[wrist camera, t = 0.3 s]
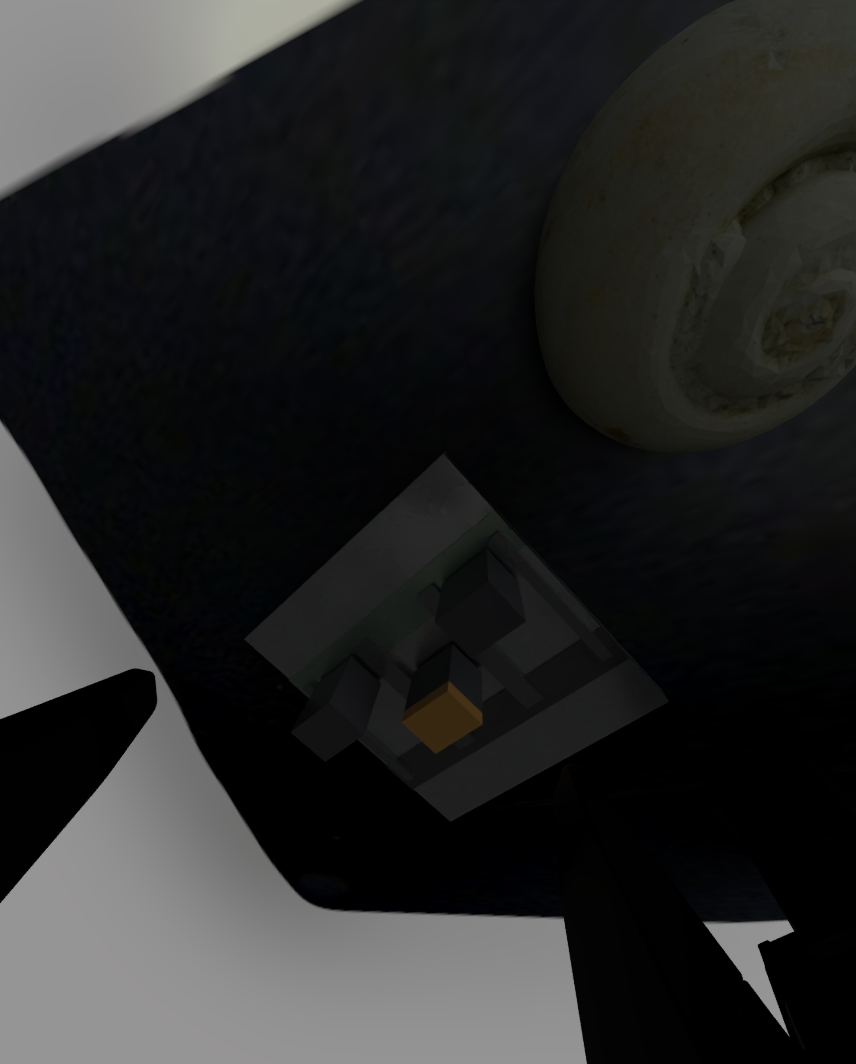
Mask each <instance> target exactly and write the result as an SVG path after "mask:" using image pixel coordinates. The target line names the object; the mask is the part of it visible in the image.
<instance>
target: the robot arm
mask: <svg viewBox="0 0 856 1064" xmlns="http://www.w3.org/2000/svg"><path fill="white" fill-rule="evenodd" d="M156 705H157V693H156V681H155V676H154V674H153V673H152V672H151V671H146V670H142V669H130V670H128V671H125V672H122V673H120V674H117V675H114V676H112V677H109V678H107V679H104V680H102V681H99V682H97V683H94V684H91V685H89V686H86V687H83V688H81V689H78V690H75V691H73V692H71V693H68V694H65V695H62V696H60V697H57V698H55V699H52V700H49V701H47V702H44V703H42V704H39V705H36V706H34V707H31V708H29V709H26V710H24V711H21V712H18V713H16V714H13V715H10V716H8V717H5V718H3V719H0V903H1V902H2V900H3V899H4V898H5V897H6V896H7V895H8V894H9V892H10V891H11V890H12V889H13V888H14V886H15V885H16V884H17V883H18V882H19V881H20V879H21V878H22V877H23V876H24V874H25V873H26V872H27V871H28V870H29V869H30V867H31V866H32V865H33V864H34V863H35V862H36V861H37V859H38V858H39V857H40V856H41V855H42V853H43V852H44V851H45V850H46V849H47V848H48V846H49V845H50V844H51V843H52V842H53V841H54V839H55V838H56V837H57V836H58V835H59V833H60V832H61V831H62V830H63V829H64V828H65V826H66V825H67V824H68V823H69V822H70V821H71V819H72V818H73V817H74V816H75V815H76V813H77V812H78V811H79V810H80V809H81V807H82V806H83V805H84V804H85V803H86V802H87V801H88V799H89V798H90V797H91V796H92V795H93V793H94V792H95V791H96V790H97V789H98V787H99V786H100V785H101V784H102V782H103V781H104V780H105V779H106V777H107V776H108V775H109V773H110V772H111V771H112V769H113V768H114V767H115V765H116V764H117V762H118V761H119V760H120V758H121V757H122V755H123V754H124V753H125V751H126V750H127V748H128V747H129V746H130V744H131V743H132V741H133V740H134V739H135V737H136V736H137V734H138V733H139V732H140V730H141V729H142V728H143V726H144V725H145V723H146V722H147V720H148V719H149V718H150V716H151V715H152V714H153V712H154V710H155V708H156ZM700 799H701V801H702V803H703V805H704V807H705V808H706V809H707V810H708V811H709V812H710V813H711V814H712V815H713V816H714V817H715V819H716V820H717V821H718V822H719V823H720V824H721V825H722V826H723V827H724V828H725V829H726V830H727V831H728V832H729V833H730V834H731V835H732V836H733V837H734V839H735V840H736V841H737V842H738V843H739V844H740V845H741V846H742V847H743V848H744V849H745V850H746V851H747V852H748V853H749V855H750V857H751V858H752V860H753V862H754V863H755V865H756V867H757V869H758V870H759V872H760V874H761V875H762V877H763V879H764V881H765V882H766V884H767V886H768V887H769V889H770V891H771V892H772V894H773V896H774V898H775V899H776V901H777V903H778V904H779V906H780V908H781V910H782V911H783V913H784V915H785V916H786V918H787V920H788V921H789V923H790V925H791V926H792V928H793V930H794V932H792V933H789V934H787V935H785V936H783V937H780V938H778V939H776V940H773V941H771V942H770V941H768V940H767V941H764V942H762V943H760V944H758V948H759V950H760V953H761V956H762V959H763V962H764V965H765V970H766V973H767V975H768V978H769V981H770V984H771V987H772V989H773V992H774V995H775V998H776V1000H777V1003H778V1006H779V1008H780V1012H781V1014H782V1017H783V1020H784V1023H785V1025H786V1028H787V1031H788V1034H789V1036H788V1034H787V1033H786V1032H785V1031H784V1029H783V1028H782V1027H781V1025H780V1024H779V1023H778V1021H777V1020H776V1019H775V1018H774V1017H773V1015H772V1014H771V1012H770V1011H769V1010H768V1008H767V1007H766V1006H765V1004H764V1003H763V1002H762V1000H761V999H760V998H759V996H758V995H757V994H756V992H755V991H754V990H753V988H752V987H751V986H750V984H749V983H748V982H747V981H745V980H743V977H742V974H741V973H740V971H739V970H738V969H737V967H736V966H735V965H734V963H733V962H732V961H731V959H730V958H729V957H728V955H727V954H726V953H725V951H724V950H723V949H722V947H721V946H720V945H719V943H718V942H717V941H716V939H715V938H714V937H713V935H712V934H711V933H710V931H709V930H708V929H707V927H706V926H705V925H704V923H703V922H702V921H701V919H700V918H699V917H698V915H697V914H696V913H695V911H694V910H693V908H692V907H691V906H690V904H689V903H688V902H687V900H686V899H685V898H684V896H683V895H682V894H681V892H680V891H679V890H678V888H677V887H676V886H675V884H674V883H673V882H672V880H671V879H670V878H669V876H668V875H667V874H666V872H665V871H664V870H663V868H662V867H661V866H660V864H659V863H658V862H657V860H656V859H655V858H654V856H653V855H652V854H651V852H650V851H649V850H648V848H647V847H646V846H645V844H644V843H643V842H642V840H641V839H640V838H639V836H638V835H637V834H636V832H635V831H634V830H633V828H632V827H631V826H630V824H629V823H628V822H627V820H626V819H625V818H624V816H623V815H622V814H621V812H620V811H619V810H618V808H617V807H616V806H615V804H614V803H613V802H612V800H611V799H610V798H609V796H608V795H607V794H606V792H605V791H604V790H603V788H602V787H601V786H600V784H599V783H598V782H597V780H596V779H595V778H594V776H593V775H592V774H591V772H590V771H589V770H588V769H587V768H585V767H582V766H577V765H573V764H566V765H565V767H564V768H563V771H562V774H561V777H560V780H559V782H558V785H557V788H556V791H555V796H554V810H555V826H556V841H557V857H558V872H559V885H560V895H561V903H562V910H563V916H564V922H565V929H566V935H567V941H568V947H569V953H570V960H571V966H572V972H573V979H574V985H575V991H576V997H577V1004H578V1010H579V1017H580V1022H581V1029H582V1035H583V1042H584V1048H585V1054H586V1061H587V1064H856V808H855V806H854V805H853V804H852V803H851V802H850V801H849V799H848V798H847V797H846V796H845V795H844V794H843V792H842V791H841V790H840V789H839V788H838V787H837V785H836V784H835V783H834V782H833V781H832V779H831V778H830V777H829V776H828V775H827V774H826V772H825V771H824V770H823V769H822V768H821V767H820V765H819V764H818V763H817V762H816V761H815V759H814V758H813V757H812V756H811V755H810V754H809V753H808V752H807V751H804V750H797V751H794V752H792V753H790V754H788V755H786V756H783V757H781V758H779V759H777V760H775V761H773V762H770V763H768V764H766V765H764V766H762V767H759V768H757V769H755V770H753V771H751V772H749V773H746V774H744V775H742V776H740V777H738V778H736V779H733V780H731V781H729V782H727V783H725V784H723V785H720V786H718V787H716V788H714V789H712V790H709V791H707V792H705V793H703V794H702V795H701V797H700Z"/></svg>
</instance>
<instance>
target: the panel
mask: <svg viewBox="0 0 856 1064" xmlns="http://www.w3.org/2000/svg"><path fill="white" fill-rule="evenodd" d="M486 548H487V549H488V550H489V551H490V552H491V553H492V555H493V556H494V557H495V558H496V559H497V560H498V561H499V562H500V563H501V564H502V565H503V566H504V567H505V568H506V570H507V571H508V572H509V573H510V574H511V575H512V576H513V577H514V578H515V579H516V580H517V581H518V584H519V588H520V593H521V598H522V603H523V607H524V612H525V617H526V622H524V623H523V624H522V625H520V626H519V627H517V628H516V629H514V630H513V631H512V632H510V633H509V634H507V635H506V636H504V637H503V638H502V639H500V640H499V641H497V642H496V643H494V644H493V645H492V646H490V647H489V648H487V649H486V650H484V651H483V652H482V653H480V654H479V655H477V656H476V657H474V658H473V659H471V658H470V657H469V656H468V655H467V654H466V653H465V652H464V651H463V650H462V649H461V648H460V647H459V646H458V645H457V644H456V643H455V642H454V641H453V640H452V639H451V638H450V637H449V636H448V635H447V634H446V633H445V632H444V631H443V630H442V629H441V628H440V627H439V626H438V625H437V624H436V623H435V618H436V613H437V608H438V602H439V597H440V592H441V586H442V583H444V582H445V581H446V580H447V579H449V578H450V577H451V576H452V575H454V574H455V573H456V572H457V571H459V570H460V569H461V568H462V567H464V566H465V565H466V564H467V563H469V562H470V561H471V560H472V559H474V558H475V557H476V556H477V555H479V554H480V553H481V552H482V551H484V550H485V549H486ZM245 640H246V641H247V642H248V643H249V644H250V645H251V646H252V647H254V648H255V649H256V650H257V651H258V652H259V653H260V654H262V655H263V656H264V657H265V658H266V659H267V660H268V661H269V662H271V663H272V664H273V665H274V666H275V667H276V668H277V669H278V670H280V671H281V672H282V673H283V674H284V675H285V676H286V677H288V678H289V681H290V682H291V683H292V684H293V685H295V686H296V687H297V688H298V689H299V690H300V691H301V692H303V693H304V694H305V695H306V696H307V697H308V698H310V696H311V694H312V693H313V691H314V689H315V687H316V685H317V683H318V682H319V681H321V680H322V679H323V678H324V677H326V676H327V675H328V674H330V673H331V672H332V671H333V670H335V669H336V668H337V667H338V666H340V665H341V664H342V663H343V662H345V661H346V660H347V659H348V658H350V657H351V656H352V657H353V658H355V659H356V660H357V661H358V662H359V663H360V664H361V665H362V666H363V667H364V668H365V669H366V670H367V671H369V672H370V673H371V674H372V675H373V676H374V677H375V678H376V679H377V680H378V681H379V682H380V683H381V686H380V689H379V692H378V695H377V698H376V701H375V704H374V707H373V710H372V713H371V716H370V719H369V722H368V725H367V728H366V731H365V734H364V735H363V736H361V737H360V738H358V740H359V741H360V742H361V743H362V744H363V745H364V746H366V747H367V748H368V749H369V750H370V751H371V752H372V753H373V754H375V755H376V756H377V757H378V758H379V759H380V760H381V761H382V762H384V763H385V764H386V765H387V768H389V769H390V770H391V771H392V772H393V773H394V774H395V775H396V776H398V777H399V778H400V779H401V780H402V781H403V782H404V783H405V784H407V785H408V786H409V787H410V788H411V789H412V790H413V789H414V790H415V791H416V792H418V793H419V794H420V795H421V796H422V797H423V798H424V799H425V800H427V801H428V802H429V803H430V804H431V805H432V806H433V807H434V808H436V809H437V810H438V811H439V812H440V813H441V814H442V815H444V816H445V817H446V818H447V819H448V820H449V821H452V820H454V819H456V818H458V817H460V816H461V815H463V814H465V813H467V812H469V811H470V810H472V809H474V808H476V807H478V806H480V805H481V804H483V803H485V802H487V801H489V800H491V799H492V798H494V797H496V796H498V795H500V794H501V793H503V792H505V791H507V790H509V789H511V788H512V787H514V786H516V785H518V784H520V783H521V782H523V781H525V780H527V779H529V778H531V777H532V776H534V775H536V774H538V773H540V772H542V771H543V770H545V769H547V768H549V767H551V766H552V765H554V764H556V763H558V762H560V761H562V760H563V759H565V758H567V757H569V756H571V755H572V754H574V753H576V752H578V751H580V750H582V749H583V748H585V747H587V746H589V745H591V744H592V743H594V742H596V741H598V740H600V739H602V738H603V737H605V736H607V735H609V734H611V733H613V732H614V731H616V730H618V729H620V728H622V727H623V726H625V725H627V724H629V723H631V722H633V721H634V720H636V719H638V718H640V717H642V716H643V715H645V714H647V713H649V712H651V711H653V710H654V709H656V708H658V707H660V706H662V705H664V704H665V703H667V702H669V701H668V699H667V698H666V696H665V695H664V693H663V691H662V690H661V688H660V687H659V686H658V685H657V684H656V683H655V682H654V681H653V680H652V678H651V677H650V676H649V675H648V674H647V673H646V672H645V671H644V670H643V669H642V667H641V666H640V665H639V664H638V663H637V662H636V661H635V660H634V659H633V658H632V656H631V655H630V654H629V653H628V652H627V651H626V650H625V649H624V648H623V647H622V645H621V644H620V643H619V642H618V641H617V640H616V639H615V638H614V637H613V636H612V634H611V633H610V632H609V631H608V630H607V629H606V628H605V627H604V626H603V625H602V623H601V622H600V621H599V620H598V619H597V618H596V617H595V616H594V615H593V613H592V612H591V611H590V610H589V609H588V608H587V607H586V606H585V605H584V604H583V602H582V601H581V600H580V599H579V598H578V597H577V596H576V595H575V594H574V593H573V591H572V590H571V589H570V588H569V587H568V586H567V585H566V584H565V583H564V582H563V580H562V579H561V578H560V577H559V576H558V575H557V574H556V573H555V572H554V571H553V569H552V568H551V567H550V566H549V565H548V564H547V563H546V562H545V561H544V560H543V558H542V557H541V556H540V555H539V554H538V553H537V552H536V551H535V550H534V549H533V547H532V546H531V545H530V544H529V543H528V542H527V541H526V540H525V539H524V538H523V536H522V535H521V534H520V533H519V532H518V531H517V530H516V529H515V528H514V527H513V525H512V524H511V523H510V522H509V521H508V520H507V519H506V518H505V517H504V516H503V514H502V513H501V512H500V511H499V510H498V509H497V508H496V507H495V506H494V505H493V503H492V502H491V501H490V500H489V499H488V498H487V497H486V496H485V495H484V494H483V492H482V491H481V490H480V489H479V488H478V487H477V486H476V485H475V484H474V482H473V481H472V480H471V479H470V478H469V477H468V476H467V475H466V474H465V473H464V471H463V470H462V469H461V468H460V467H459V466H458V465H457V464H456V463H455V462H454V460H453V459H452V458H451V457H450V456H449V455H448V454H447V453H446V452H443V453H442V454H441V455H440V456H439V457H438V458H437V459H436V460H435V461H434V462H433V463H432V464H431V465H430V466H428V467H427V468H426V469H425V470H424V471H423V472H422V473H421V474H420V475H419V476H418V477H417V478H416V479H414V480H413V481H412V482H411V483H410V484H409V485H408V486H407V487H406V488H405V489H404V490H403V491H402V492H401V493H399V494H398V495H397V496H396V497H395V498H394V499H393V500H392V501H391V502H390V503H389V504H388V505H387V506H385V507H384V508H383V509H382V510H381V511H380V512H379V513H378V514H377V515H376V516H375V517H374V518H373V519H372V520H370V521H369V522H368V523H367V524H366V525H365V526H364V527H363V528H362V529H361V530H360V531H359V532H358V533H356V534H355V535H354V536H353V537H352V538H351V539H350V540H349V541H348V542H347V543H346V544H345V545H344V546H343V547H341V548H340V549H339V550H338V551H337V552H336V553H335V554H334V555H333V556H332V557H331V558H330V559H329V560H327V561H326V562H325V563H324V564H323V565H322V566H321V567H320V568H319V569H318V570H317V571H316V572H315V573H314V574H312V575H311V576H310V577H309V578H308V579H307V580H306V581H305V582H304V583H303V584H302V585H301V586H300V587H298V588H297V589H296V590H295V591H294V592H293V593H292V594H291V595H290V596H289V597H288V598H287V599H286V600H285V601H283V602H282V603H281V604H280V605H279V606H278V607H277V608H276V609H275V610H274V611H273V612H272V613H271V614H269V615H268V616H267V617H266V618H265V619H264V620H263V621H262V622H261V623H260V624H259V625H258V626H257V627H256V628H254V629H253V630H252V631H251V632H250V634H249V635H248V636H247V637H246V638H245ZM451 644H453V645H454V646H455V647H456V648H457V649H458V650H459V651H460V652H461V653H462V654H463V655H464V656H465V657H466V658H467V659H468V660H469V661H470V662H471V663H473V664H474V665H475V666H476V667H477V668H478V669H479V670H480V671H481V672H482V725H481V726H479V727H478V728H476V729H474V730H473V731H471V732H470V733H468V734H466V735H465V736H463V737H462V738H460V739H459V740H457V741H455V742H454V743H452V744H451V745H449V746H447V747H446V748H444V749H443V750H441V751H439V752H438V753H436V754H435V753H434V752H433V751H432V750H431V749H430V748H429V747H428V746H427V745H425V744H424V743H423V742H422V741H421V740H420V739H419V738H418V737H417V736H416V735H415V734H413V733H412V732H411V731H410V730H409V729H408V728H407V727H406V726H405V725H404V724H403V723H402V718H403V714H404V710H405V705H406V701H407V697H408V692H409V688H410V684H411V679H412V675H413V672H414V671H416V670H417V669H418V668H420V667H421V666H422V665H424V664H425V663H427V662H428V661H429V660H431V659H432V658H433V657H435V656H436V655H438V654H439V653H440V652H442V651H443V650H444V649H446V648H447V647H449V646H450V645H451Z"/></svg>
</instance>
